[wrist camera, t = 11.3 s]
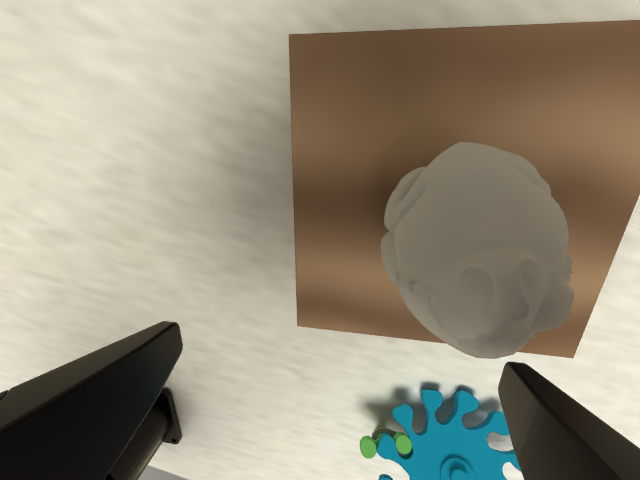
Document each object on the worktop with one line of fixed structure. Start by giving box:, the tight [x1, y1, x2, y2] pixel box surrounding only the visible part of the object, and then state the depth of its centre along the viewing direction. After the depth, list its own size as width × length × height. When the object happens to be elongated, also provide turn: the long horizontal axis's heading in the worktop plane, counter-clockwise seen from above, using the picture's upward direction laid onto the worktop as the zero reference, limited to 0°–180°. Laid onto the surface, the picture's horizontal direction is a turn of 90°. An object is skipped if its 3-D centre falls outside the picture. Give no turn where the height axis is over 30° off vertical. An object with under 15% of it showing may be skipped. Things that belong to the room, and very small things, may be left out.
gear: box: [360, 389, 521, 480], centre depth 21 cm, size 11×6×10 cm
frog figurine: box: [381, 142, 574, 359], centre depth 11 cm, size 6×7×7 cm
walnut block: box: [289, 20, 640, 358], centre depth 16 cm, size 15×15×4 cm
